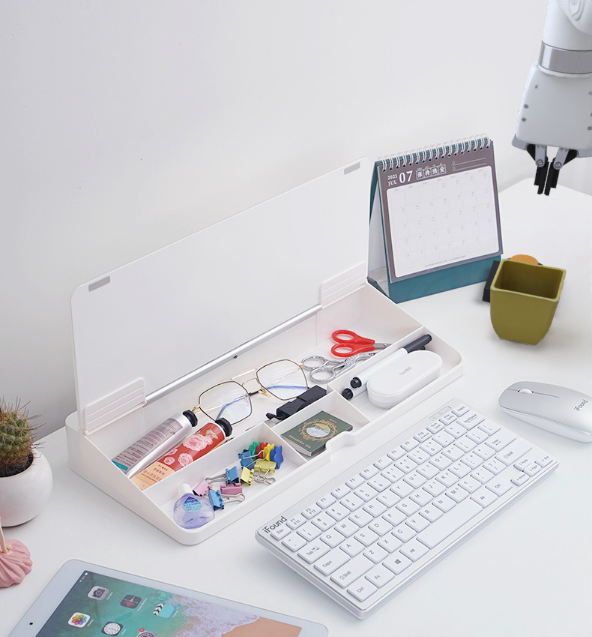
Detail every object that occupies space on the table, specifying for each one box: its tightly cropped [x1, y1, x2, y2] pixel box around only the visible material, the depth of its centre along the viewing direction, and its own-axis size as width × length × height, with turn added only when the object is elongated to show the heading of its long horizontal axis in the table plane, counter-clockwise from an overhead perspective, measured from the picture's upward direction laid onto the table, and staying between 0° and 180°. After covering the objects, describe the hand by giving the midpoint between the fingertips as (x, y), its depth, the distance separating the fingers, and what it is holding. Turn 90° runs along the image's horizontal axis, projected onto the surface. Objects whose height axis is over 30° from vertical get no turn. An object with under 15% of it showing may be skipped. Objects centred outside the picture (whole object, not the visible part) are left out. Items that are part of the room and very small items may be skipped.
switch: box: [481, 257, 543, 303], centre depth 119 cm, size 10×9×4 cm
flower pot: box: [489, 258, 567, 346], centre depth 109 cm, size 9×9×9 cm
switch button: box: [510, 253, 539, 265], centre depth 118 cm, size 4×4×2 cm
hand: (544, 190), depth 110 cm, fingers closed
